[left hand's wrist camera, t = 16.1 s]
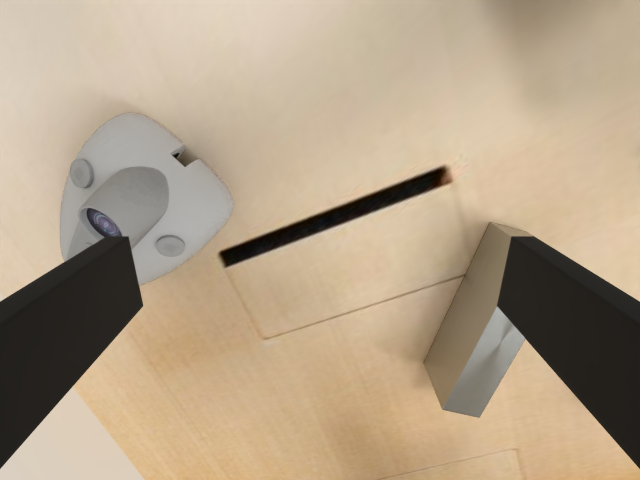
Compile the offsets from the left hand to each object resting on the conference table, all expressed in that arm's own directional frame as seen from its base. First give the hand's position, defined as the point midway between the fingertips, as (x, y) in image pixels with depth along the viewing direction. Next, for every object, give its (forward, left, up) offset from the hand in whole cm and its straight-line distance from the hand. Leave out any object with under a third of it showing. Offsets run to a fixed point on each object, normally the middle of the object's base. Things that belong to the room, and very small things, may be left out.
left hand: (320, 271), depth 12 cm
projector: (+13, -20, -33) cm, 41 cm away
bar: (+15, +26, -33) cm, 45 cm away
